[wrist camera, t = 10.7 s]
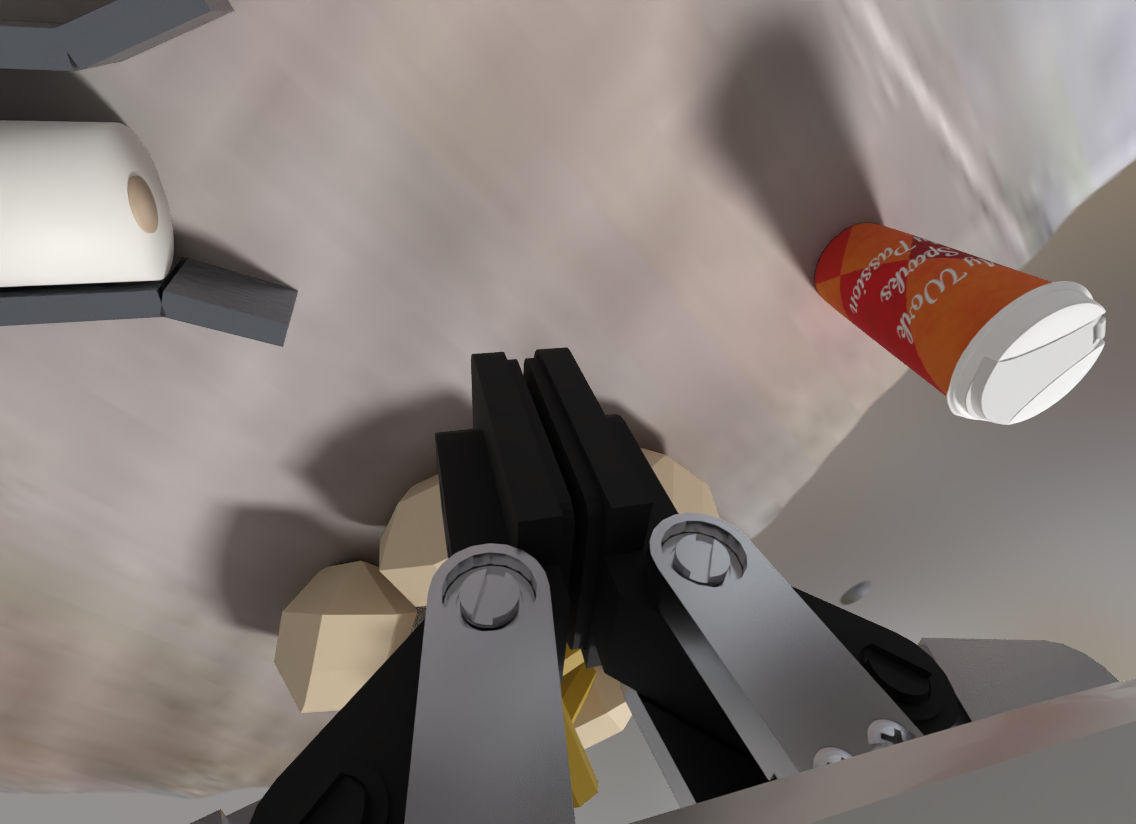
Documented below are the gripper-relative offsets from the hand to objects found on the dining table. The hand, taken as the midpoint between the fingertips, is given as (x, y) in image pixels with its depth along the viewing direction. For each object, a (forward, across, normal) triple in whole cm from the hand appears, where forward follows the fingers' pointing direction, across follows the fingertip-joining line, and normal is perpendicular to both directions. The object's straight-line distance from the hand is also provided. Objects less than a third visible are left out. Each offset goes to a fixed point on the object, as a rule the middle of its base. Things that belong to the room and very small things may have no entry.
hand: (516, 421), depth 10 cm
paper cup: (+22, -27, +6) cm, 36 cm away
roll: (+22, +17, +1) cm, 28 cm away
